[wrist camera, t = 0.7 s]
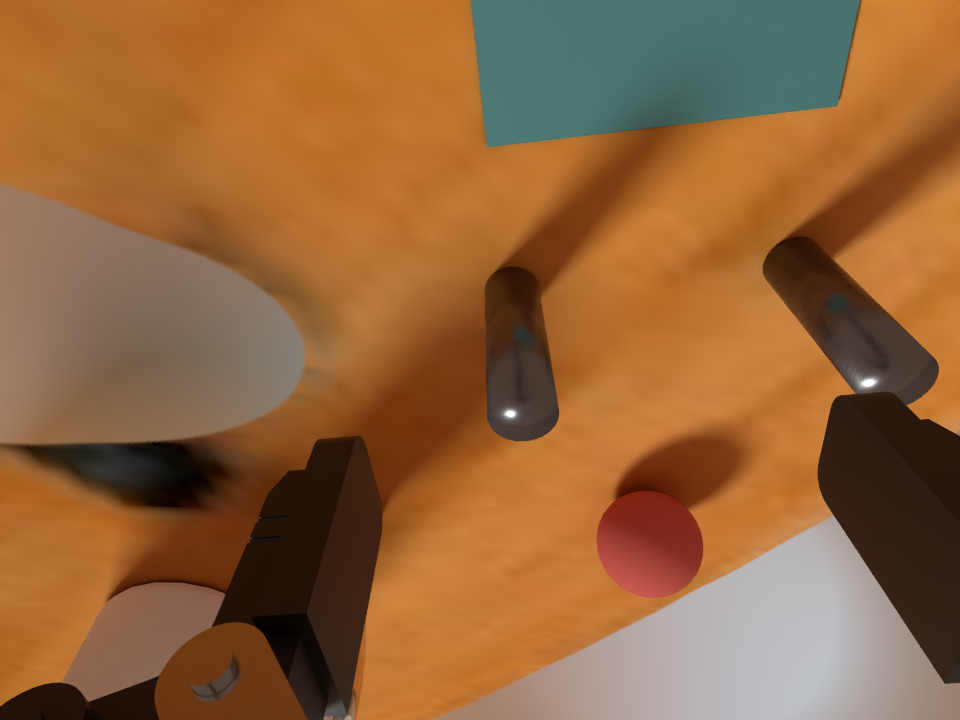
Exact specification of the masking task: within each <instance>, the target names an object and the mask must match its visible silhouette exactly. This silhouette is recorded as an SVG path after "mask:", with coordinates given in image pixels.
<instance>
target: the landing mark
mask: <svg viewBox="0 0 960 720" xmlns="http://www.w3.org/2000/svg"><path fill="white" fill-rule="evenodd" d="M859 2H860V0H471V4H472V13H473V22H474V32H475V41H476V50H477V60H478V69H479V78H480V88H481V97H482V106H483V116H484V125H485V134H486V144H487V147H493V146H501V145H510V144H518V143H527V142H536V141H544V140H553V139H561V138H570V137H578V136H587V135H595V134H604V133H612V132H621V131H629V130H638V129H646V128H655V127H663V126H672V125H680V124H689V123H697V122H706V121H714V120H723V119H731V118H740V117H748V116H757V115H765V114H774V113H782V112H791V111H800V110H808V109H817V108H825V107H834V106H837V105H838V100H839V95H840V91H841V86H842V81H843V77H844V72H845V67H846V63H847V58H848V53H849V49H850V44H851V39H852V35H853V30H854V25H855V21H856V16H857V11H858V7H859Z"/></svg>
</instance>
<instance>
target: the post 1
mask: <svg viewBox="0 0 960 720" xmlns="http://www.w3.org/2000/svg"><path fill="white" fill-rule="evenodd" d="M485 327H486V377H487V418H488V422H489V425H490V426H491V428H492V429H493V430H494V431H495V432H496V433H497V434H498V435H500V436H502V437H504V438H506V439H509V440H514V441H530V440H534V439H537V438H540V437H542V436H544V435H545V434H547V433H548V432H550V431H551V430H552V429H553V427H554V426H555V425H556V423H557V421H558V418H559V408H558V402H557V395H556V389H555V383H554V377H553V371H552V365H551V359H550V353H549V347H548V341H547V334H546V328H545V322H544V316H543V310H542V304H541V298H540V292H539V286H538V282H537V280H536V279H535V277H534V276H533V275H532V274H531V273H530V272H528V271H527V270H525V269H522V268H518V267H508V268H504V269H501V270H499V271H497V272H495V273H494V274H493V275H492V276H491V277H490V278H489V279H488V281H487V283H486V286H485Z"/></svg>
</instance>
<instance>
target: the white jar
mask: <svg viewBox="0 0 960 720" xmlns="http://www.w3.org/2000/svg"><path fill="white" fill-rule="evenodd" d="M225 595H226V594H224V593H222V592H219V591H217V590H214V589H211V588H207V587H202V586H197V585H191V584H186V583H161V582H155V583H150V584H145V585H139V586H134V587H131V588H129V589H127V590H125V591H123V592H121V593H119V594H118V595H116V596H114V597H113V598H112V599H110V600H109V601H108V602H107V603H106V604H105V606H104V607H103V609H102V610H101V611H100V613H99V614H98V616H97V618H96V619H95V621H94V623H93V625H92V627H91V629H90V630H89V632H88V634H87V636H86V638H85V640H84V642H83V643H82V645H81V647H80V649H79V651H78V653H77V655H76V656H75V658H74V660H73V662H72V664H71V666H70V668H69V669H68V671H67V673H66V675H65V677H64V679H63V681H62V682H61V683H66V684H70V685H72V686H75V687H76V688H77V689H78V690H80V691H81V693H82V694H83V695H84V697H85V698H86V699H87V700H88V702H89V701H92V700H95V699H97V698H100V697H103V696H106V695H108V694H111V693H114V692H117V691H119V690H122V689H125V688H128V687H130V686H133V685H136V684H139V683H141V682H144V681H147V680H149V679H152V678H154V677H156V676H159V675H160V674H161V672H162V670H163V668H164V667H165V665H166V663H167V662H168V661H169V659H170V658H171V657H172V656H173V654H174V653H175V652H176V651H177V650H178V649H179V648H180V647H181V646H182V645H184V644H185V643H186V642H187V641H188V640H190V639H191V638H193V637H194V636H196V635H197V634H199V633H201V632H203V631H205V630H207V629H209V628H211V627H212V625H213V623H214V621H215V618H216V616H217V614H218V611H219V609H220V606H221V604H222V602H223V599H224V597H225Z"/></svg>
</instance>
